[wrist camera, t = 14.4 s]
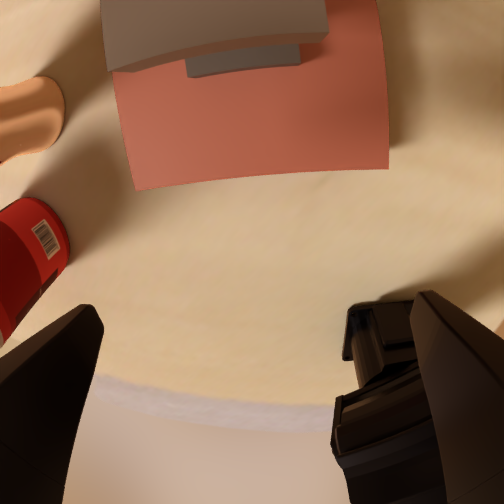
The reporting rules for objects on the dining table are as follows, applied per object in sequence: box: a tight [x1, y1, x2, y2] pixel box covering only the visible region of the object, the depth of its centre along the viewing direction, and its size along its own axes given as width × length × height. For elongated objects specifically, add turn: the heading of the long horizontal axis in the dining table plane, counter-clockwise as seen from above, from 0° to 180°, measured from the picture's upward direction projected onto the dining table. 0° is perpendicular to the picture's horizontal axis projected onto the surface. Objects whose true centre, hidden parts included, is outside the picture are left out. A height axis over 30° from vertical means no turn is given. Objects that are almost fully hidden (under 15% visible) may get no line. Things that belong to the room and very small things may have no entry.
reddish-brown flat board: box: [112, 0, 389, 191], centre depth 12 cm, size 18×14×3 cm
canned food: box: [0, 197, 70, 348], centre depth 17 cm, size 8×8×11 cm
